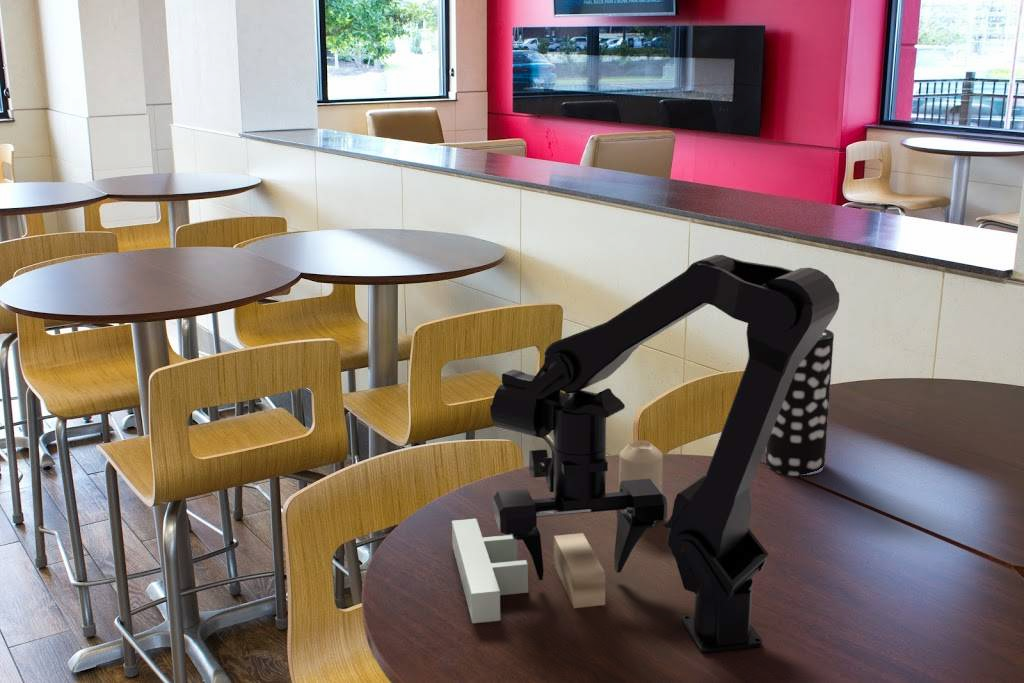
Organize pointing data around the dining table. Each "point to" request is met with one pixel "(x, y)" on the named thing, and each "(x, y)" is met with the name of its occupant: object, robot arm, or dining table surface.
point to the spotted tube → (804, 415)
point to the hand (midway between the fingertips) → (579, 574)
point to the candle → (641, 463)
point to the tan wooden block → (579, 570)
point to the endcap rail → (487, 569)
